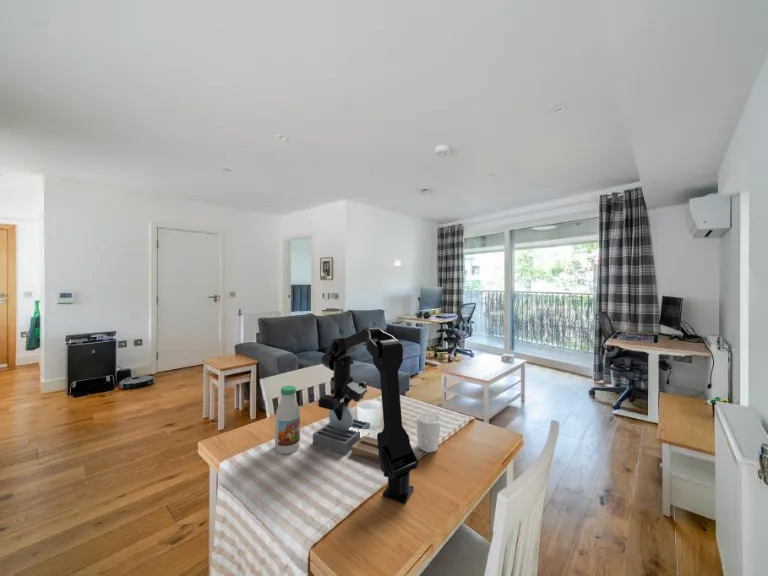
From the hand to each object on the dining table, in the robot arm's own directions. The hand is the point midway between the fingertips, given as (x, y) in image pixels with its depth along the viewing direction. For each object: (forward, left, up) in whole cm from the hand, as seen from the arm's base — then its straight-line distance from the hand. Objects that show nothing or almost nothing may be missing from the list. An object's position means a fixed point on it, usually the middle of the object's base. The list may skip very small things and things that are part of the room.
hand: (341, 419), depth 108 cm
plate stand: (-2, -14, -7) cm, 16 cm away
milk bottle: (-13, +12, -7) cm, 19 cm away
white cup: (+10, -28, -7) cm, 31 cm away
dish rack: (+1, 0, -7) cm, 7 cm away
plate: (0, 0, -4) cm, 4 cm away
